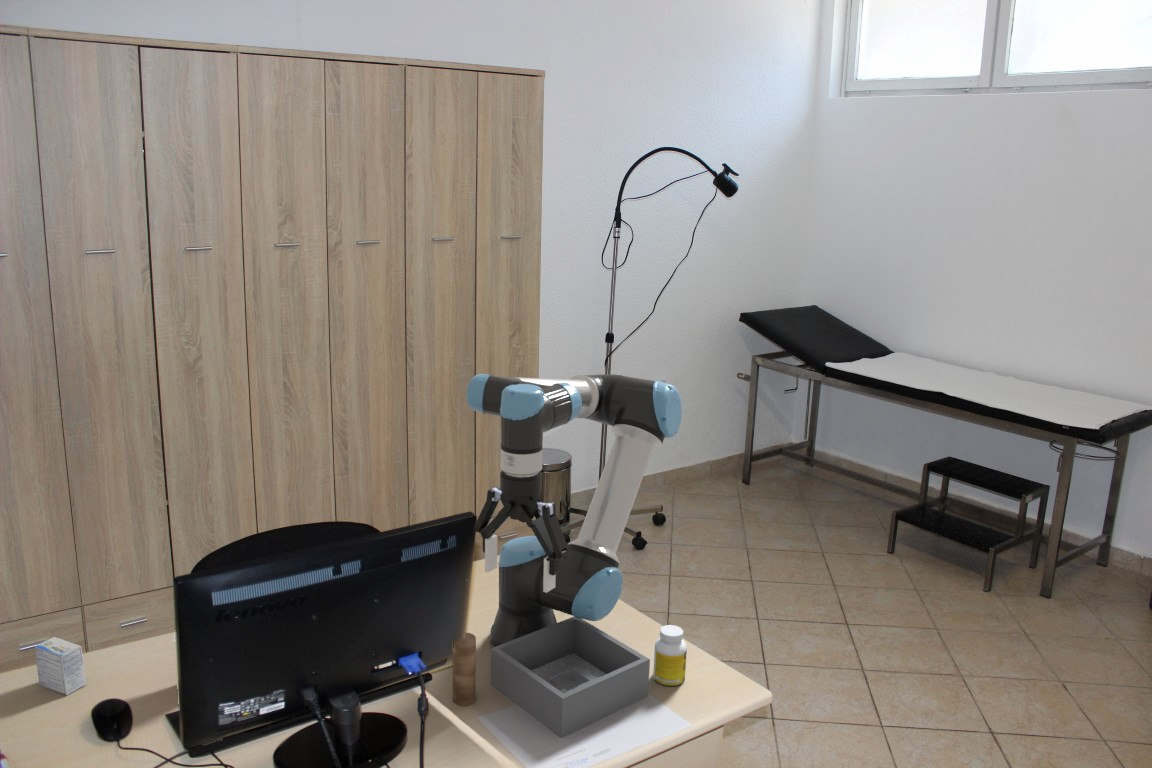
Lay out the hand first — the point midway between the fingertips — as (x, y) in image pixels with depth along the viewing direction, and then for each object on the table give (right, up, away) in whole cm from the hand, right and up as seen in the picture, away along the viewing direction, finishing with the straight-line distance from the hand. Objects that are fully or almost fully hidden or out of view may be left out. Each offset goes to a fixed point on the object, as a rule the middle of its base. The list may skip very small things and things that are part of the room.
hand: (519, 579), depth 173 cm
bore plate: (+9, -24, +11) cm, 28 cm away
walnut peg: (-11, -26, +7) cm, 29 cm away
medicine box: (-90, -23, +9) cm, 93 cm away
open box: (+9, -25, +11) cm, 29 cm away
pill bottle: (+29, -25, +17) cm, 42 cm away
